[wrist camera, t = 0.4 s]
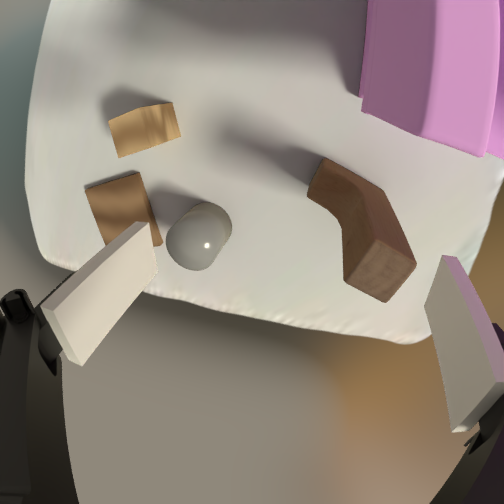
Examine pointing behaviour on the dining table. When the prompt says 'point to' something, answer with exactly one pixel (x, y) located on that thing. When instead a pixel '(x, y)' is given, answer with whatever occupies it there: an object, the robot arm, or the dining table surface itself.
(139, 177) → the walnut board
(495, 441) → the robot arm
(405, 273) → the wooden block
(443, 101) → the chair
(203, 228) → the grey dome cap
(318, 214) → the dining table surface
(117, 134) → the oak block
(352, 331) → the dining table surface
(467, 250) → the dining table surface
